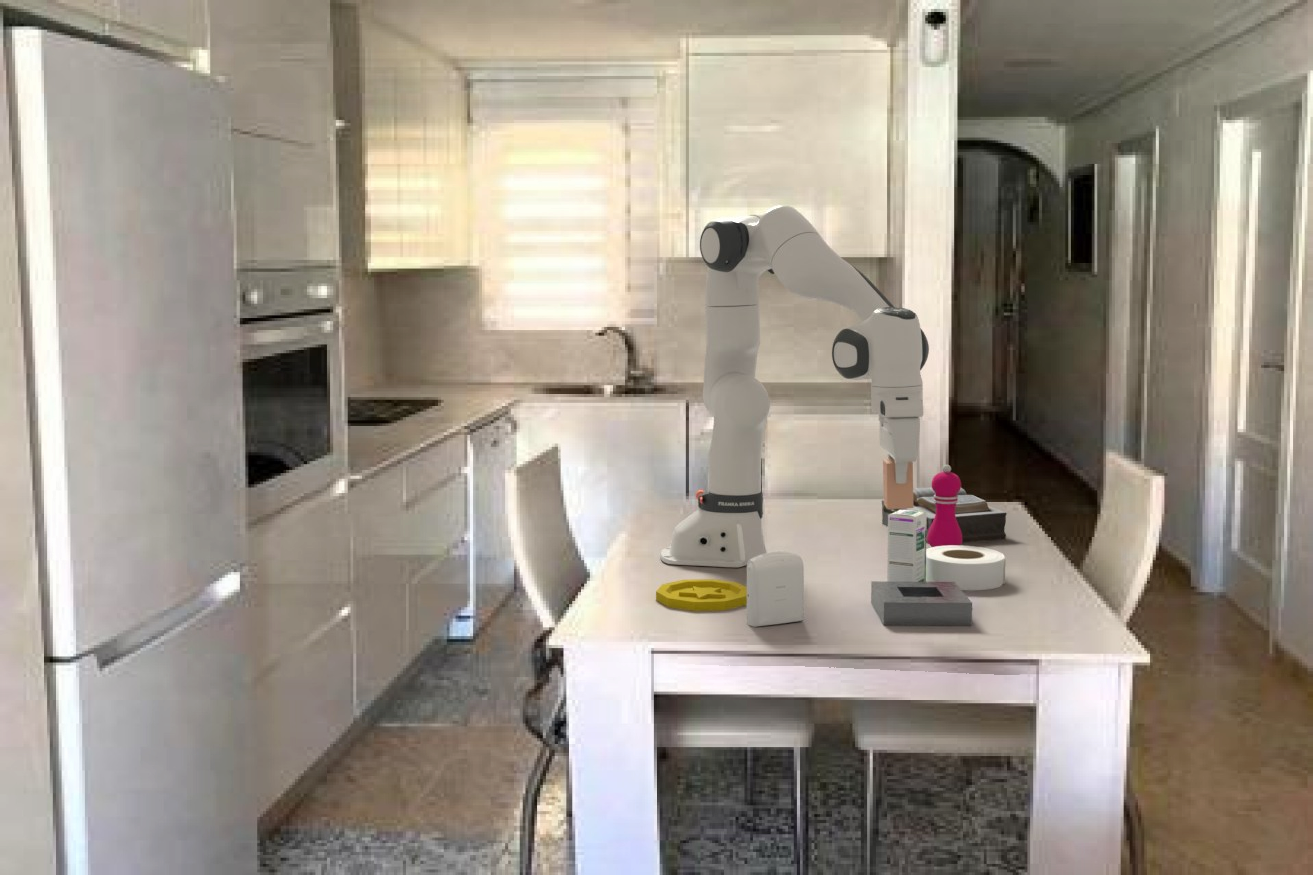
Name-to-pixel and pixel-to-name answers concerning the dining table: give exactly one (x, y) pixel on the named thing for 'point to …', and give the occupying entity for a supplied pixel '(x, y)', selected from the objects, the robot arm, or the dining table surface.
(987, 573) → the roll of tape
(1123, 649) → the dining table surface
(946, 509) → the pepper mill
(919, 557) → the syrup box
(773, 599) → the photo printer
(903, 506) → the square peg
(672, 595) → the decorative disc
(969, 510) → the bible
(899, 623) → the square hole block
